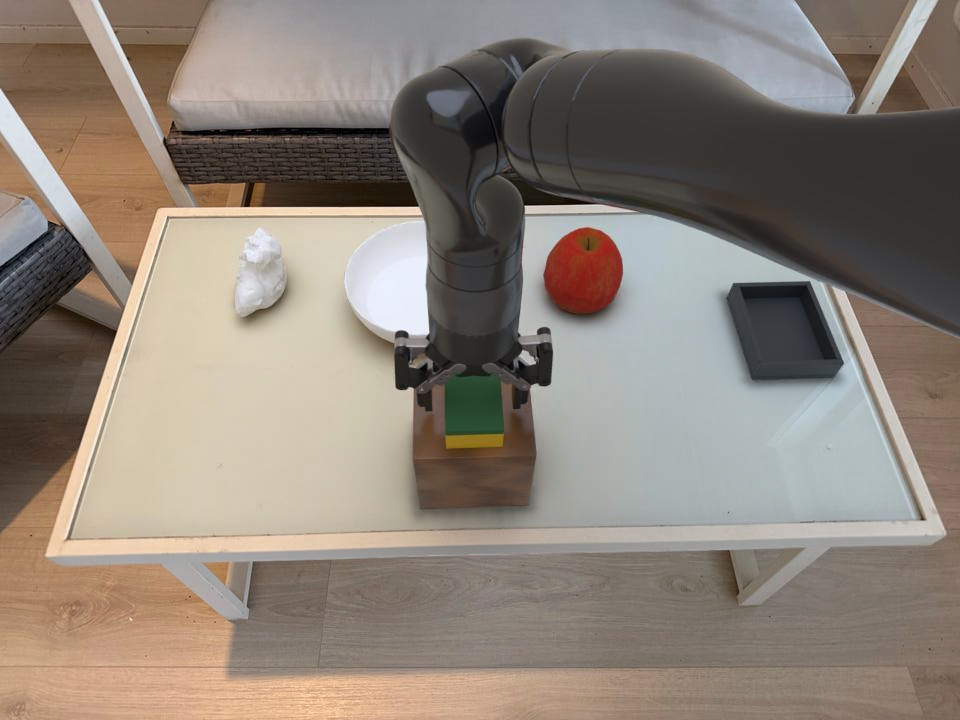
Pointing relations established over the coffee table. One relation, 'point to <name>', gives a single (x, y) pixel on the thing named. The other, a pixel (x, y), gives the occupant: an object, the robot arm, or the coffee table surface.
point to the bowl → (390, 281)
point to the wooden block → (473, 459)
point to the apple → (583, 271)
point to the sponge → (473, 412)
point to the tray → (783, 330)
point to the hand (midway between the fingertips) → (472, 402)
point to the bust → (259, 274)
